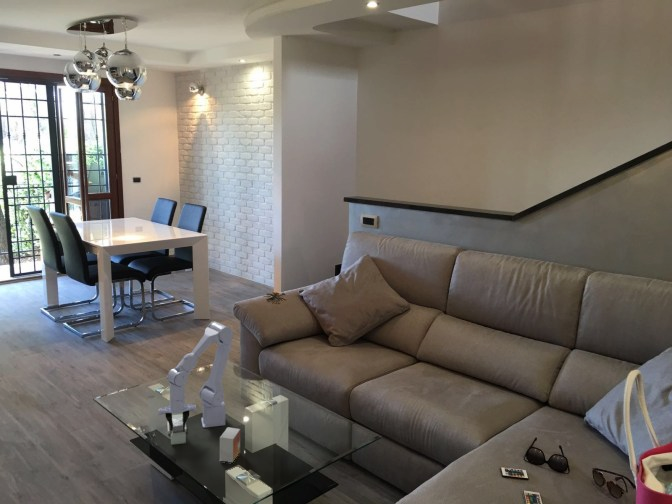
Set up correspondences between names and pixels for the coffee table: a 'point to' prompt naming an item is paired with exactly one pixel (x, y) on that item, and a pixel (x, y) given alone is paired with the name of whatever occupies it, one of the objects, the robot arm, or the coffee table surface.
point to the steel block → (177, 425)
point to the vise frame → (177, 436)
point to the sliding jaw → (177, 416)
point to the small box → (229, 444)
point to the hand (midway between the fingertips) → (177, 428)
